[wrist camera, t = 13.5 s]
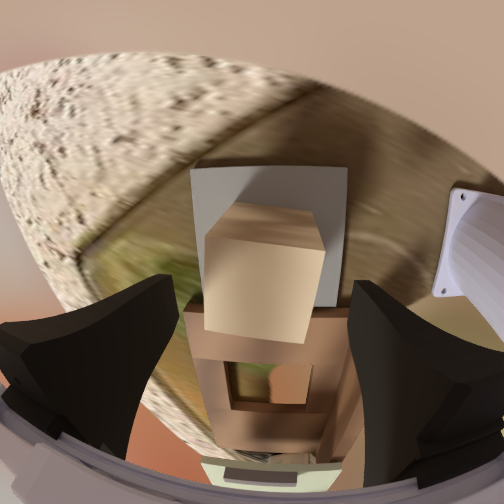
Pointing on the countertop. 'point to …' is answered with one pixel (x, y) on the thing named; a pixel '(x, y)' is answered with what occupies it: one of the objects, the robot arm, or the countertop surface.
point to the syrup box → (293, 458)
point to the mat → (279, 195)
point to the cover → (270, 475)
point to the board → (282, 415)
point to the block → (262, 272)
